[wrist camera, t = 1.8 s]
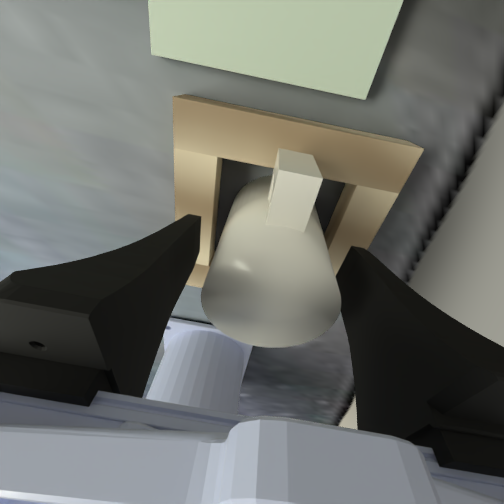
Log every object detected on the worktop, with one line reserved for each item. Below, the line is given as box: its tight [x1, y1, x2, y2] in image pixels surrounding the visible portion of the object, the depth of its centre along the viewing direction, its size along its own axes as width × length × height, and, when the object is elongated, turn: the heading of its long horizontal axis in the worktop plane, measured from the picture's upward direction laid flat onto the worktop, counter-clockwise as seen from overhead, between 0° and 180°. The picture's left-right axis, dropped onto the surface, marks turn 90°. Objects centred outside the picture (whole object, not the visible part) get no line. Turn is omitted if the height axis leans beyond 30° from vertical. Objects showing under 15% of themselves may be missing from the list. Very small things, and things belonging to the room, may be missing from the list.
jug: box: [201, 148, 341, 348], centre depth 11 cm, size 7×5×7 cm
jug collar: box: [173, 94, 424, 288], centre depth 14 cm, size 11×11×2 cm
